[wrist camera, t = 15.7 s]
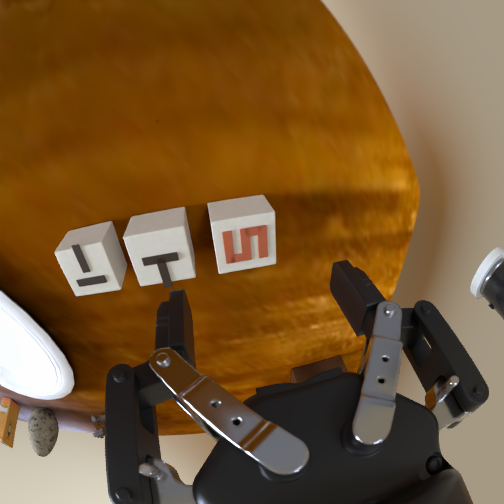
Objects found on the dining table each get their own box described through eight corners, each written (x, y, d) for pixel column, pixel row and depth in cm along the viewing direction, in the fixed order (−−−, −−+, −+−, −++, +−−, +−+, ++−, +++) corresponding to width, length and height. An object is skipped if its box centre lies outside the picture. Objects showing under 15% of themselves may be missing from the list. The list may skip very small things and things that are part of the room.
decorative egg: (29, 405, 30) (22, 450, 22) (36, 398, 29) (28, 448, 21) (55, 418, 33) (51, 462, 25) (64, 412, 32) (60, 461, 24)
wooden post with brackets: (84, 414, 31) (93, 438, 28) (126, 402, 36) (136, 424, 33) (88, 419, 32) (96, 441, 29) (128, 406, 37) (139, 428, 34)
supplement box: (1, 396, 28) (-8, 437, 20) (11, 398, 29) (2, 441, 20) (11, 404, 30) (4, 445, 22) (21, 406, 30) (14, 448, 22)
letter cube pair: (184, 203, 18) (183, 223, 16) (195, 256, 21) (196, 282, 18) (67, 228, 17) (52, 250, 14) (87, 275, 20) (77, 300, 17)
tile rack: (340, 354, 34) (363, 402, 28) (323, 401, 43) (338, 437, 37) (291, 368, 33) (310, 420, 27) (286, 411, 42) (299, 449, 36)
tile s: (263, 194, 19) (275, 212, 17) (265, 241, 21) (276, 264, 19) (207, 202, 19) (210, 222, 16) (214, 250, 21) (219, 275, 18)
